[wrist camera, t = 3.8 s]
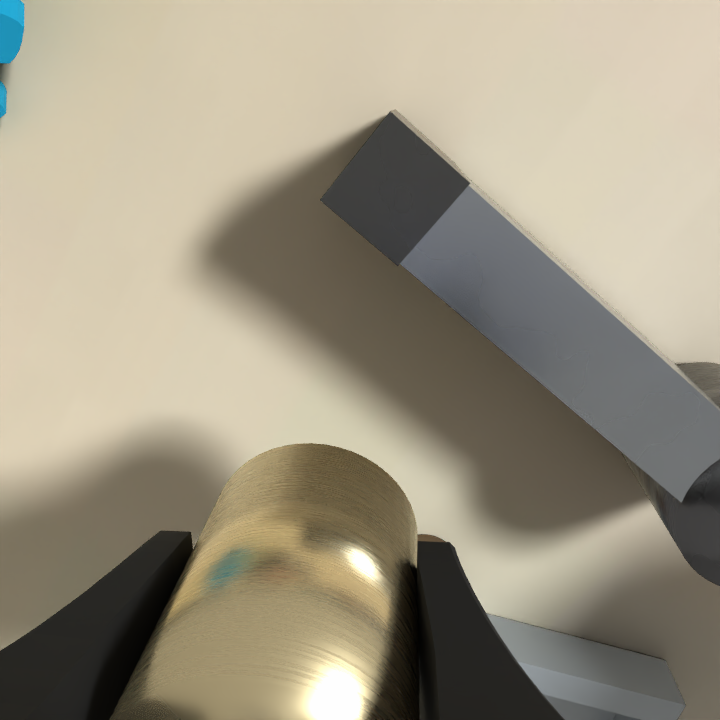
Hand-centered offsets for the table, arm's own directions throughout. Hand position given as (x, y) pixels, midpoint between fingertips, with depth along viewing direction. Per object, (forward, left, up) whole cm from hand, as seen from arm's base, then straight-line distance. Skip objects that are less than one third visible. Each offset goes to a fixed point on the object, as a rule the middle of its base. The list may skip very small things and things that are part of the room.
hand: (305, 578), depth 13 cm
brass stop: (0, 0, -2) cm, 2 cm away
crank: (-5, -5, -7) cm, 10 cm away
